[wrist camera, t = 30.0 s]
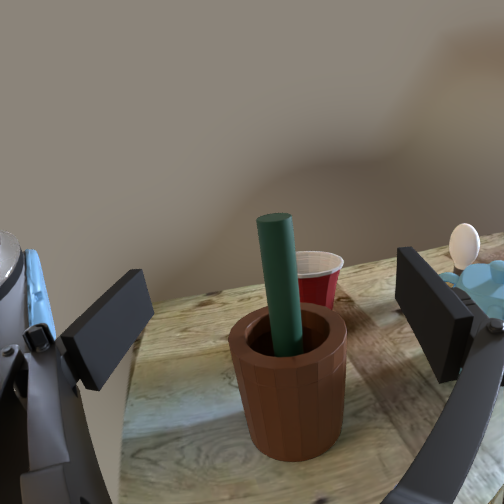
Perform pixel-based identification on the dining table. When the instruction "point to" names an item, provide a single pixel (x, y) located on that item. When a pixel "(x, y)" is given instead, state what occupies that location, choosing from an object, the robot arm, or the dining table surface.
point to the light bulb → (463, 247)
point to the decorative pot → (482, 286)
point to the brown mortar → (292, 383)
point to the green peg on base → (281, 283)
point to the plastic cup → (318, 277)
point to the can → (498, 497)
